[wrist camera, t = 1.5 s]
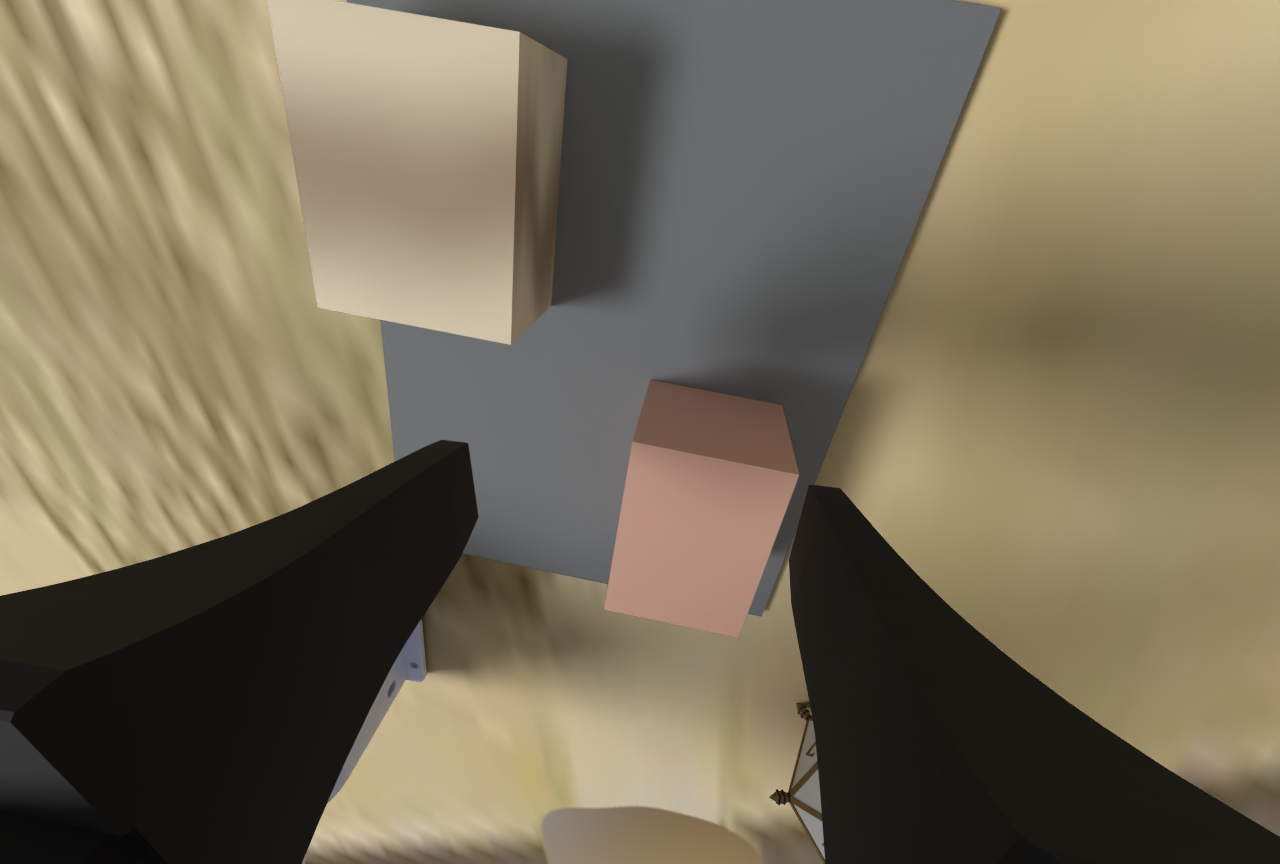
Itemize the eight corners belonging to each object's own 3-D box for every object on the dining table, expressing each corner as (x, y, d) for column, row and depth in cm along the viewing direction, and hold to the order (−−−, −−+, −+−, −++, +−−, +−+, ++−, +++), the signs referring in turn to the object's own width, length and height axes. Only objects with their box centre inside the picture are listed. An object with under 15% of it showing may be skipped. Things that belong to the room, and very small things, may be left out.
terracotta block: (734, 550, 22) (738, 638, 18) (624, 527, 22) (603, 609, 18) (781, 405, 18) (799, 474, 15) (650, 379, 19) (632, 441, 15)
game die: (876, 651, 29) (1064, 832, 22) (782, 756, 30) (933, 962, 23) (815, 633, 23) (1046, 874, 16) (700, 765, 24) (871, 1046, 17)
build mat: (761, 609, 24) (761, 616, 24) (407, 535, 25) (403, 540, 24) (993, 11, 13) (1001, 8, 13) (346, -94, 14) (336, -100, 13)
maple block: (551, 305, 18) (510, 345, 14) (394, 276, 18) (317, 307, 15) (567, 59, 14) (519, 31, 11) (373, 26, 15) (265, -12, 11)
